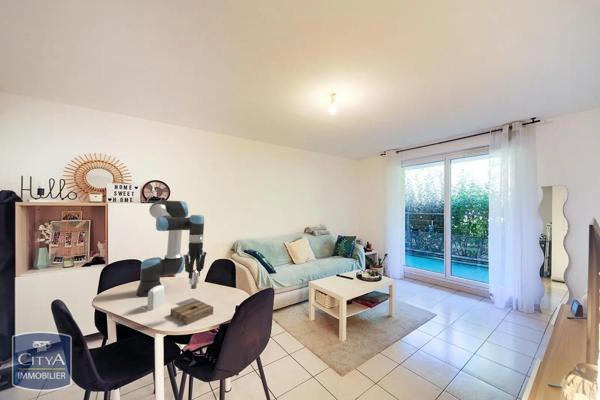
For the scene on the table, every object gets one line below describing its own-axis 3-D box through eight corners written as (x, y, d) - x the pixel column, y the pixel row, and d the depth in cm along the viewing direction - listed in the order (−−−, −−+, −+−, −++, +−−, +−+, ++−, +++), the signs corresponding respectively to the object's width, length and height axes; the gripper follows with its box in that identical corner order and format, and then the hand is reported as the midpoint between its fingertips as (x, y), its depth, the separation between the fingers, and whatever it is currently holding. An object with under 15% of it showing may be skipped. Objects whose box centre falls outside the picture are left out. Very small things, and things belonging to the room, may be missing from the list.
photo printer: (152, 311, 136) (153, 289, 136) (145, 310, 137) (147, 289, 137) (164, 304, 146) (166, 284, 147) (158, 303, 147) (159, 283, 147)
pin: (189, 288, 133) (190, 270, 134) (194, 286, 136) (195, 269, 136) (192, 289, 132) (193, 271, 132) (197, 287, 134) (198, 270, 134)
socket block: (170, 316, 131) (170, 308, 131) (196, 306, 144) (196, 300, 144) (187, 324, 122) (187, 317, 122) (213, 313, 136) (213, 306, 136)
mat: (175, 304, 146) (175, 303, 146) (192, 298, 156) (192, 297, 156) (186, 309, 140) (186, 308, 140) (203, 303, 150) (203, 302, 150)
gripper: (187, 244, 126) (184, 288, 125) (211, 241, 139) (209, 281, 138) (179, 242, 130) (176, 285, 129) (203, 239, 143) (201, 278, 142)
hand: (193, 283), depth 134 cm, fingers closed on pin, 2 cm apart
